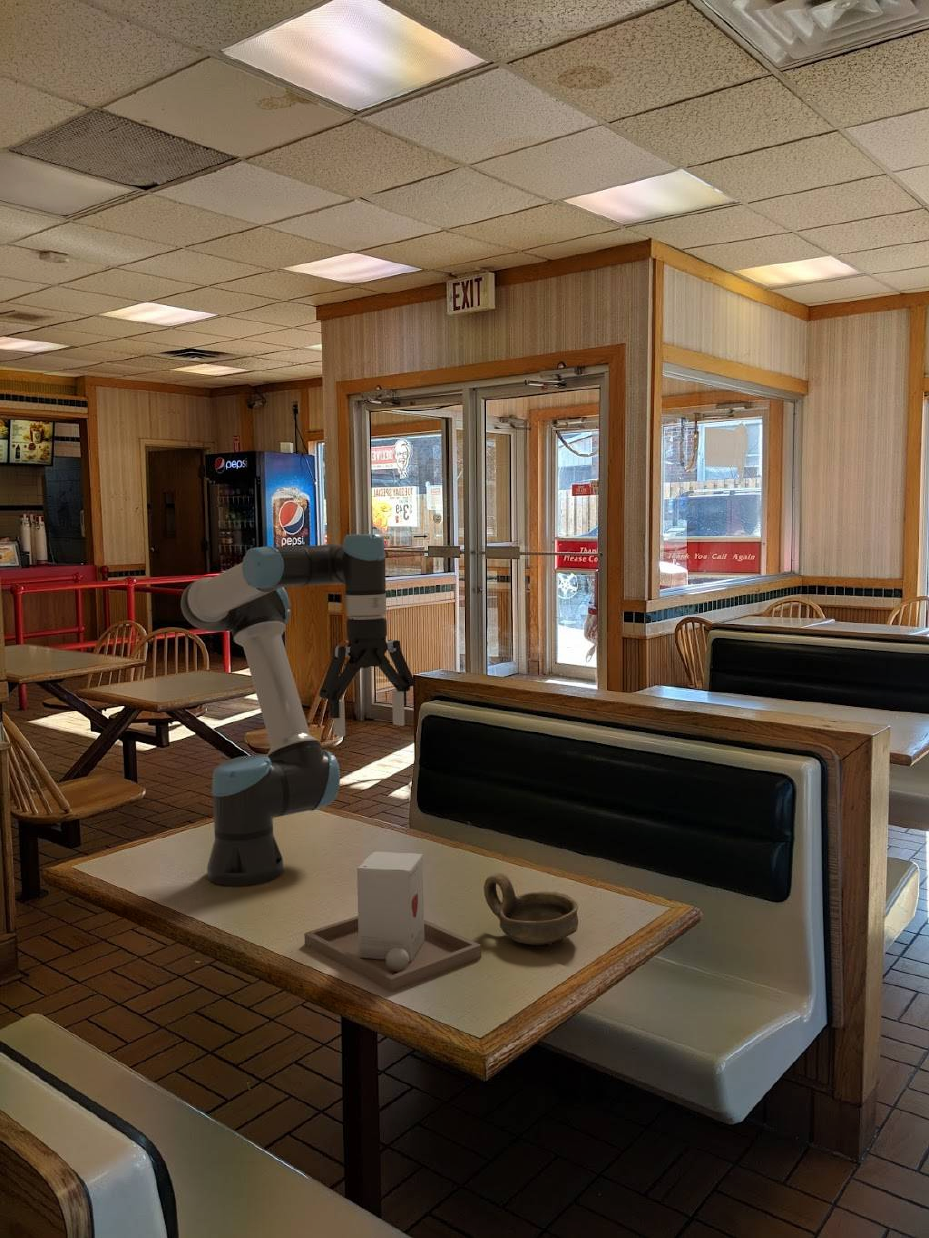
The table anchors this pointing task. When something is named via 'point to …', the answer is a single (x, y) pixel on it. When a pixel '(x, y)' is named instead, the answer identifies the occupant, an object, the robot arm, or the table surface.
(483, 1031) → the table surface
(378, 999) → the table surface
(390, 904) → the supplement box
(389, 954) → the ball
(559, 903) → the bowl
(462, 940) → the tray
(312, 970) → the table surface
